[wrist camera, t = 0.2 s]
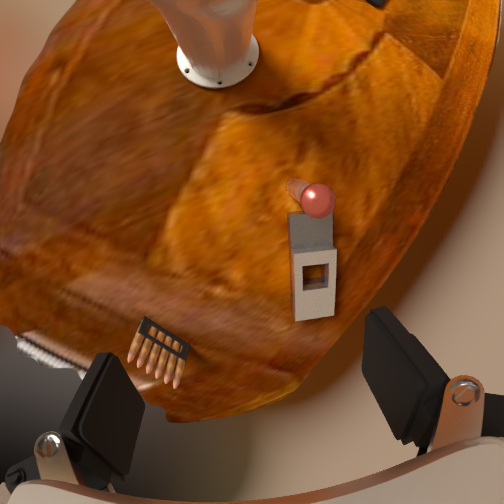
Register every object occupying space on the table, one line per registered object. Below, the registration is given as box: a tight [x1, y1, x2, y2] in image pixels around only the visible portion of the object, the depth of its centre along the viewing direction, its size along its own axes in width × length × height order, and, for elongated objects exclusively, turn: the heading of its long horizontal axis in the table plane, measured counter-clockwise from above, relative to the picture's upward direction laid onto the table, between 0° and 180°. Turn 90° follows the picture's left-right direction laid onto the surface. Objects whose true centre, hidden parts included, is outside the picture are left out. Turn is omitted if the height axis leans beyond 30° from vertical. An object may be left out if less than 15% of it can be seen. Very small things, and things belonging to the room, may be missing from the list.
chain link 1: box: [287, 211, 333, 295], centre depth 46 cm, size 14×7×2 cm, turn 5°
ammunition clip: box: [128, 316, 190, 389], centre depth 45 cm, size 11×2×12 cm, turn 51°
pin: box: [285, 178, 336, 219], centre depth 37 cm, size 4×4×13 cm
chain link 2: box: [291, 245, 337, 321], centre depth 46 cm, size 12×7×4 cm, turn 5°
